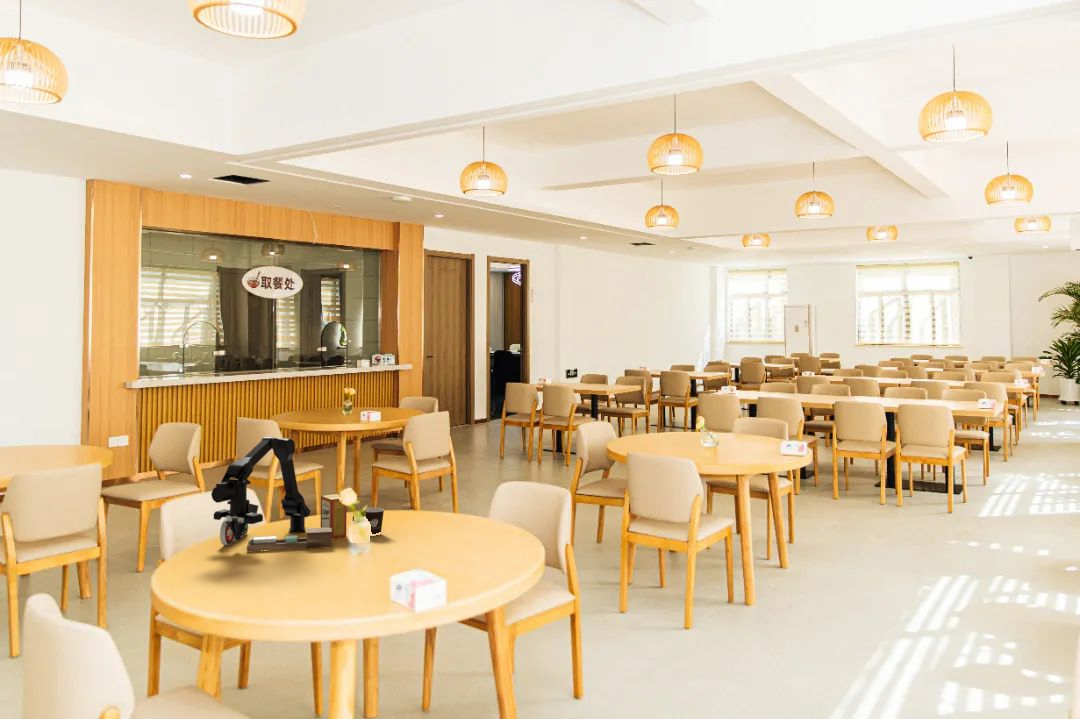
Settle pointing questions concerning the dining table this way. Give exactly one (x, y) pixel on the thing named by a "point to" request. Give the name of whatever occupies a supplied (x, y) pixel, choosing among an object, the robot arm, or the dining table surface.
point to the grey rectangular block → (263, 540)
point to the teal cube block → (291, 539)
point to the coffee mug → (374, 519)
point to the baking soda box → (333, 515)
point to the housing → (299, 541)
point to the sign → (229, 533)
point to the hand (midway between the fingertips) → (238, 539)
